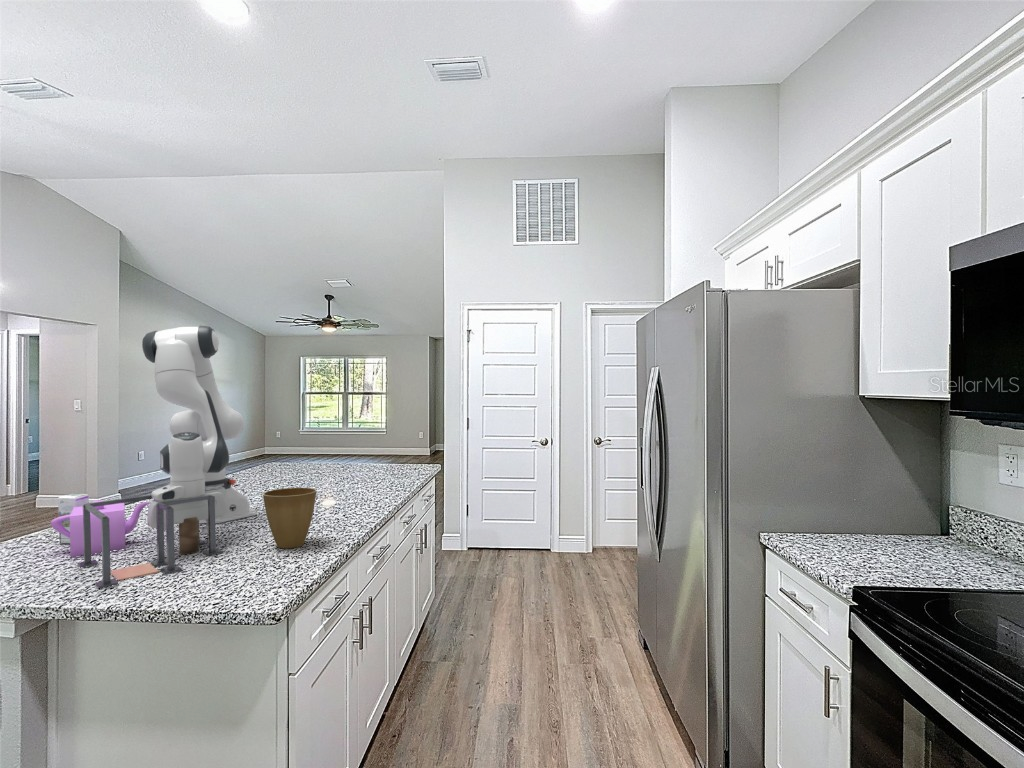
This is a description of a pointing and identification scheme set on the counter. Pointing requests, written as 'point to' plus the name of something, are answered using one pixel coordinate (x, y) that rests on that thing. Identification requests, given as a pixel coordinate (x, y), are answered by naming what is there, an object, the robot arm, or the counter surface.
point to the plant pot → (289, 514)
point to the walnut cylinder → (189, 536)
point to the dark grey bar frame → (160, 535)
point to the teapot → (98, 527)
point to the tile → (134, 571)
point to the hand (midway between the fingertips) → (188, 537)
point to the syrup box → (69, 510)
